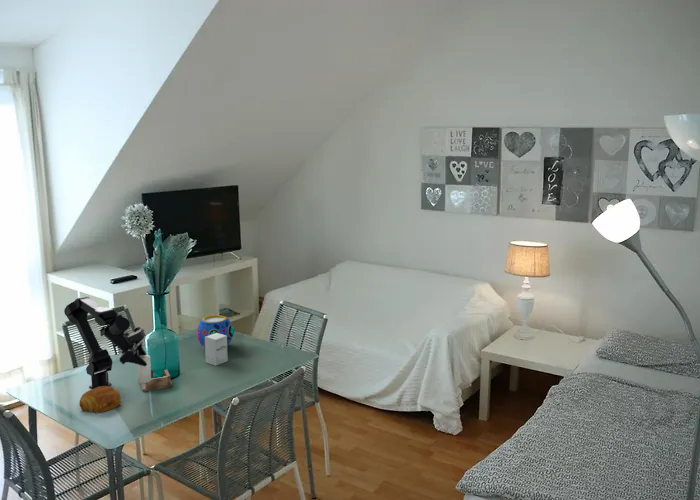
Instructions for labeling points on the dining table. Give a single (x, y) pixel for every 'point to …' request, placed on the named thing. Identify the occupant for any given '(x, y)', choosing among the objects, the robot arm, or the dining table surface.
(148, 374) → the paper roll
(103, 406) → the croissant
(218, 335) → the supplement box
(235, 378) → the dining table surface
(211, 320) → the ceramic pot
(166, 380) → the cradle
